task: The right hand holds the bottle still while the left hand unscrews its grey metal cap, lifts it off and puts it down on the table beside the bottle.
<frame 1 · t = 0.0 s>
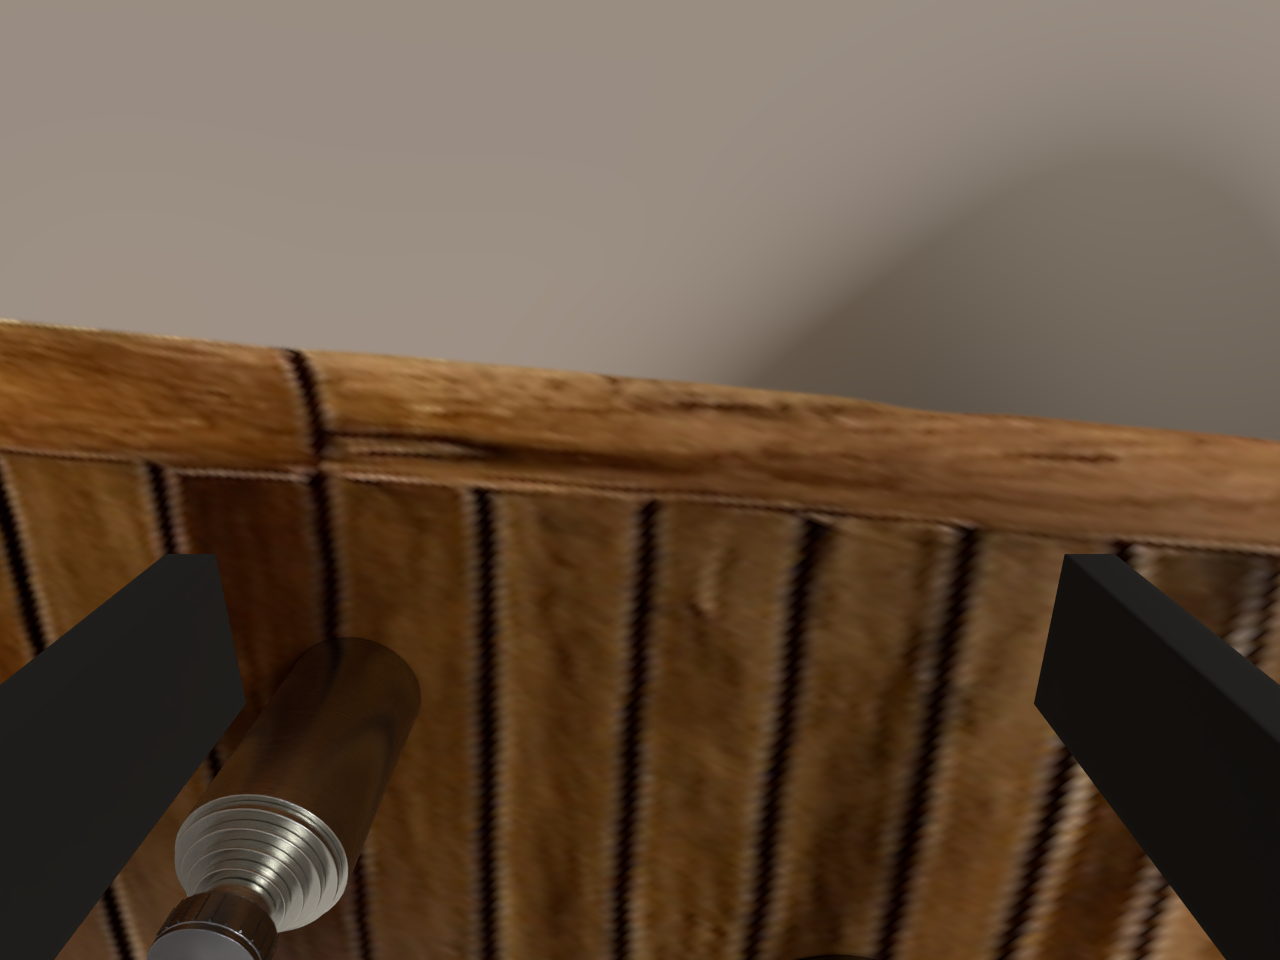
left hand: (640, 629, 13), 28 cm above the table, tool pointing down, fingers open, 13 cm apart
bottle: (355, 693, 46), on the table
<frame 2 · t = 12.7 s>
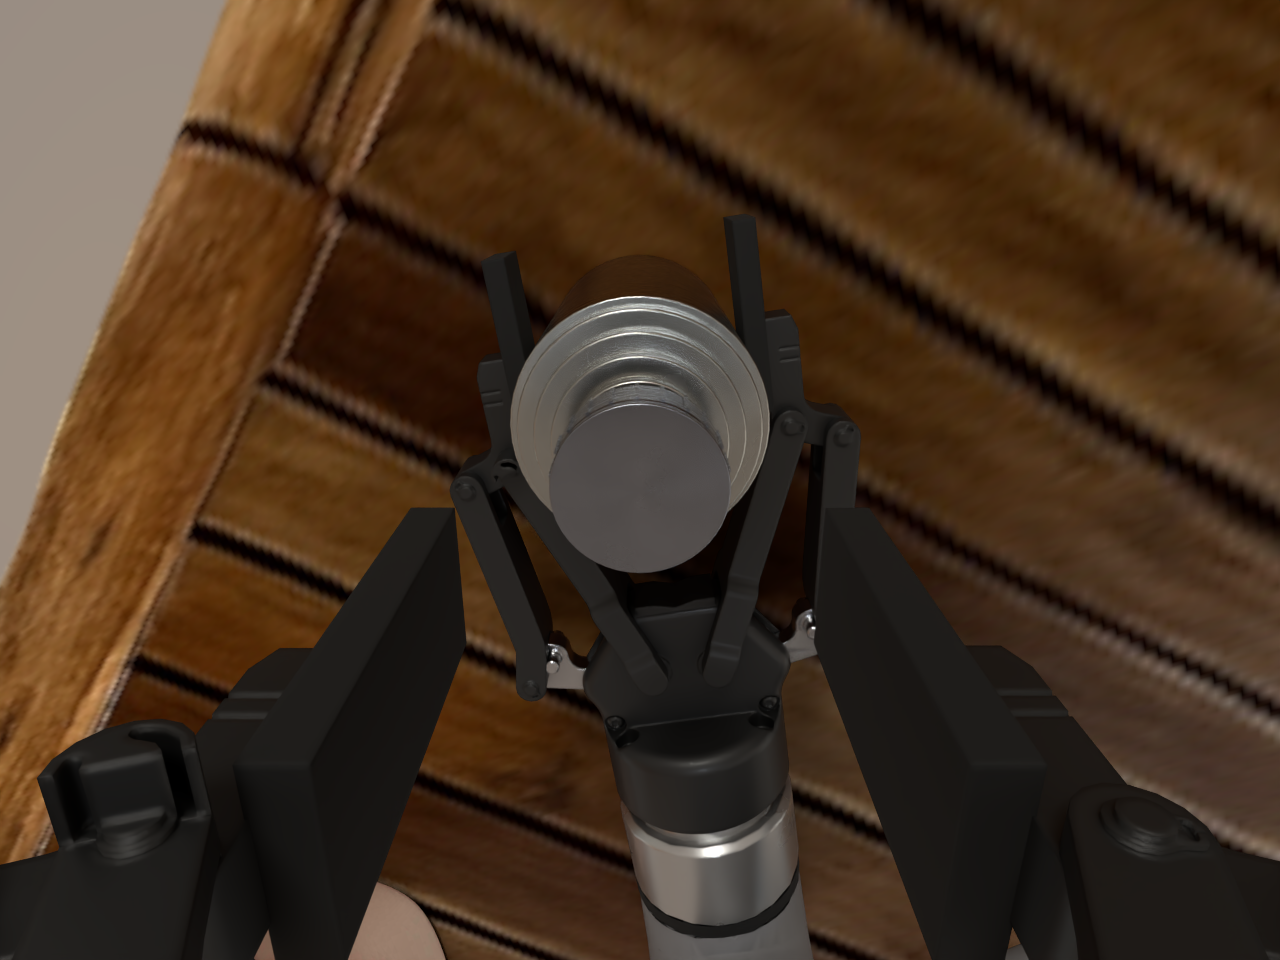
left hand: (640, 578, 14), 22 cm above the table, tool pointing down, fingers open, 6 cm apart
right hand: (617, 237, 27), fingers closed on bottle, 7 cm apart
bottle: (640, 344, 34), on the table, touching right hand
anatomical model: (351, 949, 47), on the table
cap: (640, 487, 19), point 17 cm above the table, screwed on, not yet turned
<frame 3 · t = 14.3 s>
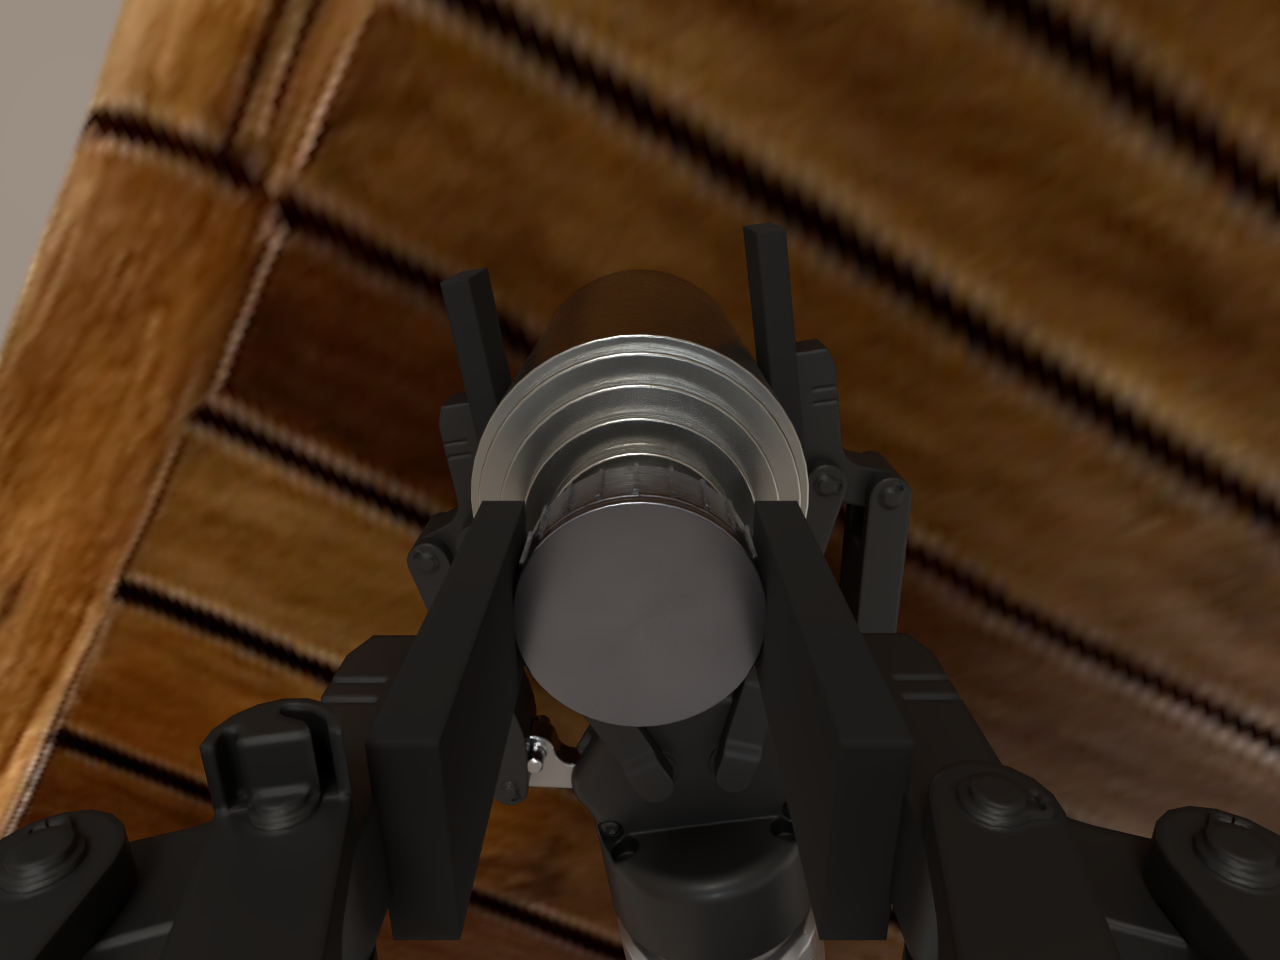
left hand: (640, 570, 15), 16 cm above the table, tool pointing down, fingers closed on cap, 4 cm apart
right hand: (612, 252, 22), fingers closed on bottle, 7 cm apart
bottle: (640, 375, 29), on the table, touching right hand
cap: (639, 611, 13), point 17 cm above the table, screwed on, not yet turned, touching left hand
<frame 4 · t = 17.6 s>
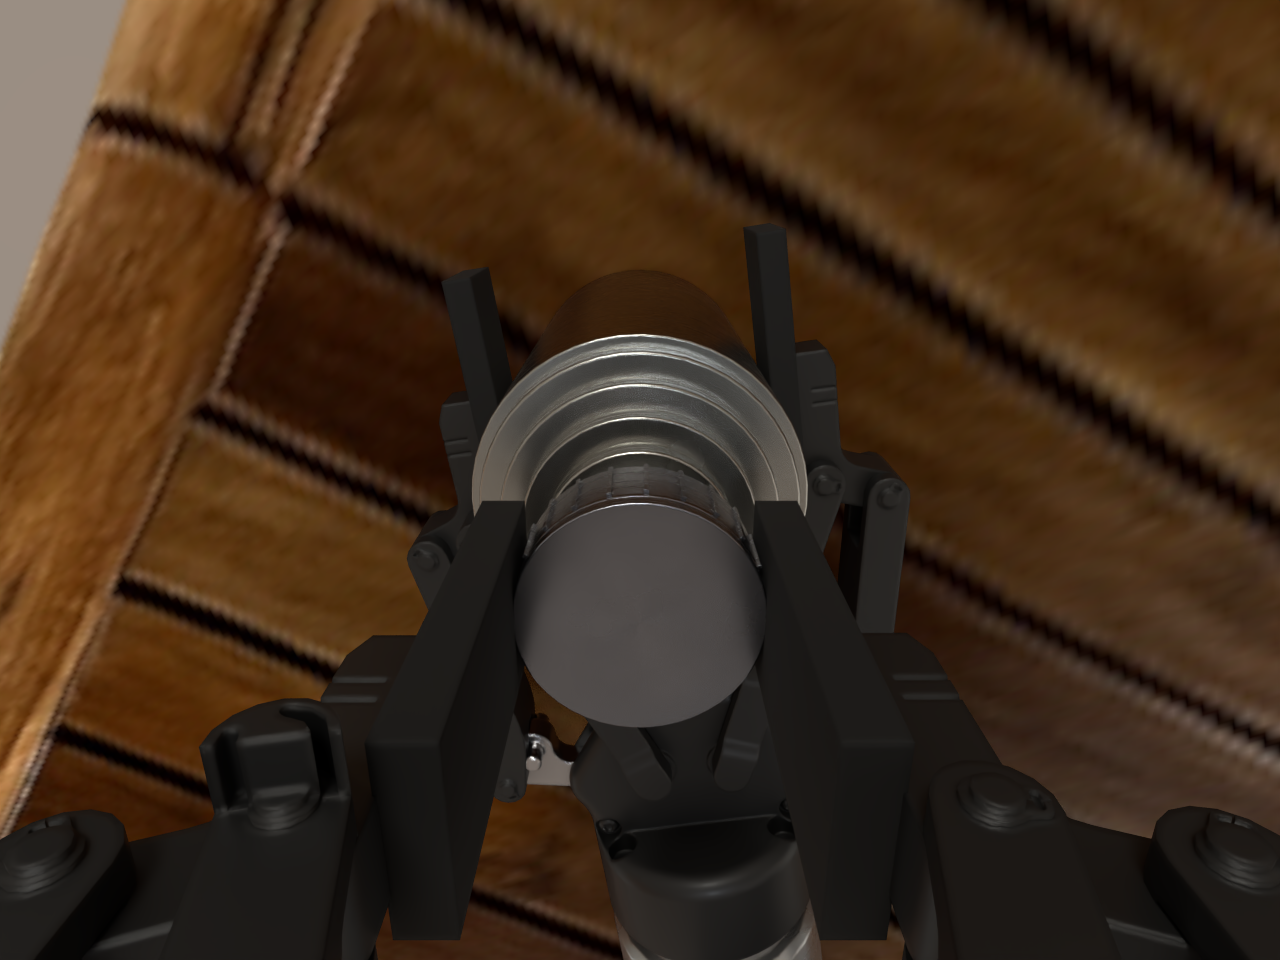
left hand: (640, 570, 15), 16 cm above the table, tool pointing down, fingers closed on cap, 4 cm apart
right hand: (613, 252, 22), fingers closed on bottle, 7 cm apart
bottle: (639, 374, 29), on the table, touching right hand
cap: (639, 612, 13), point 17 cm above the table, turned 110° so far, risen 0.1 cm, still on its thread, touching left hand
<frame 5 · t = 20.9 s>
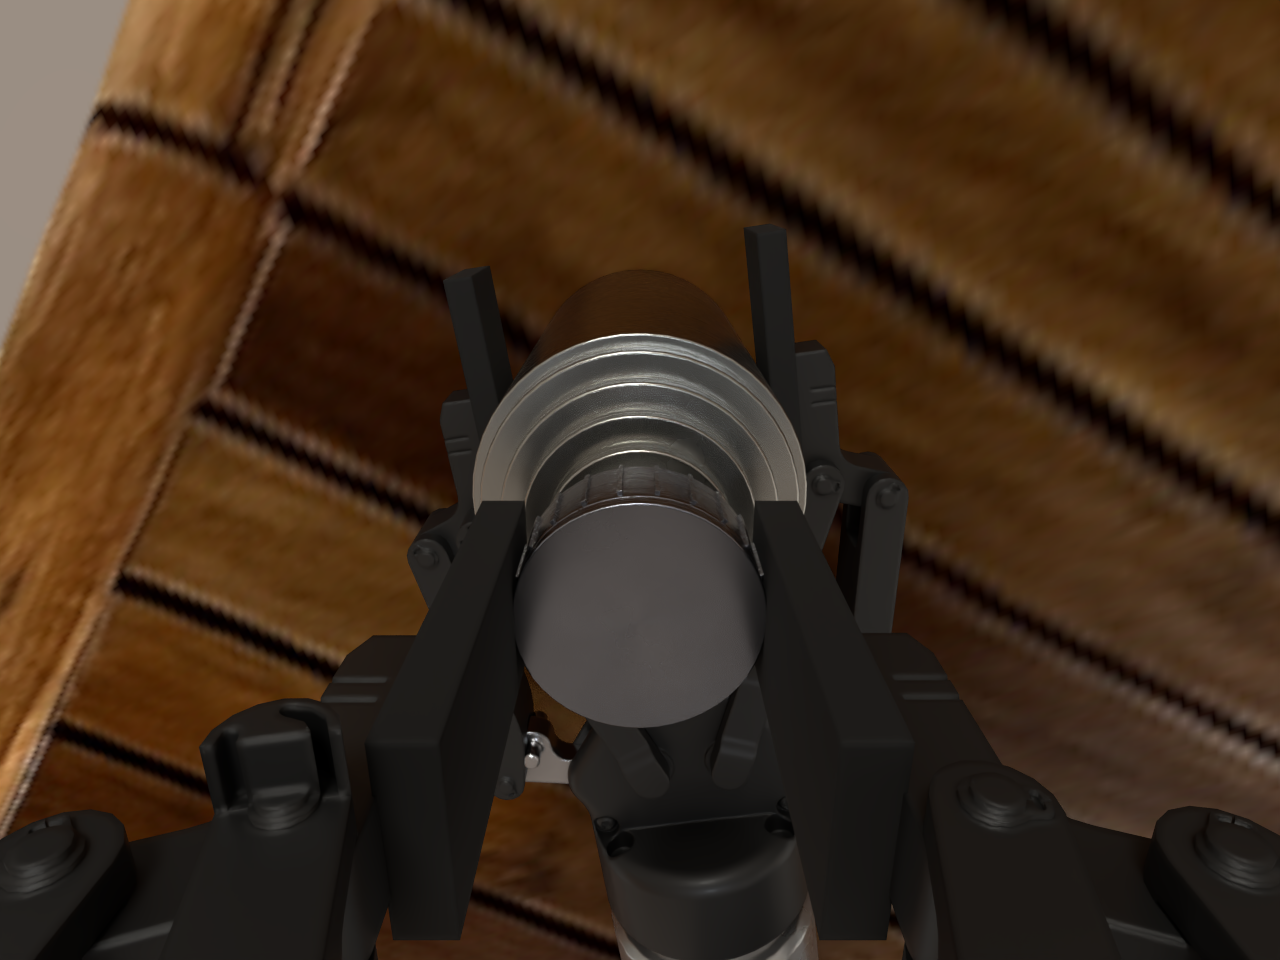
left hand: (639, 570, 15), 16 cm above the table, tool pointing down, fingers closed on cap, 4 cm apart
right hand: (614, 251, 22), fingers closed on bottle, 7 cm apart
bottle: (639, 374, 29), on the table, touching right hand
cap: (639, 612, 13), point 17 cm above the table, turned 220° so far, risen 0.2 cm, still on its thread, touching left hand
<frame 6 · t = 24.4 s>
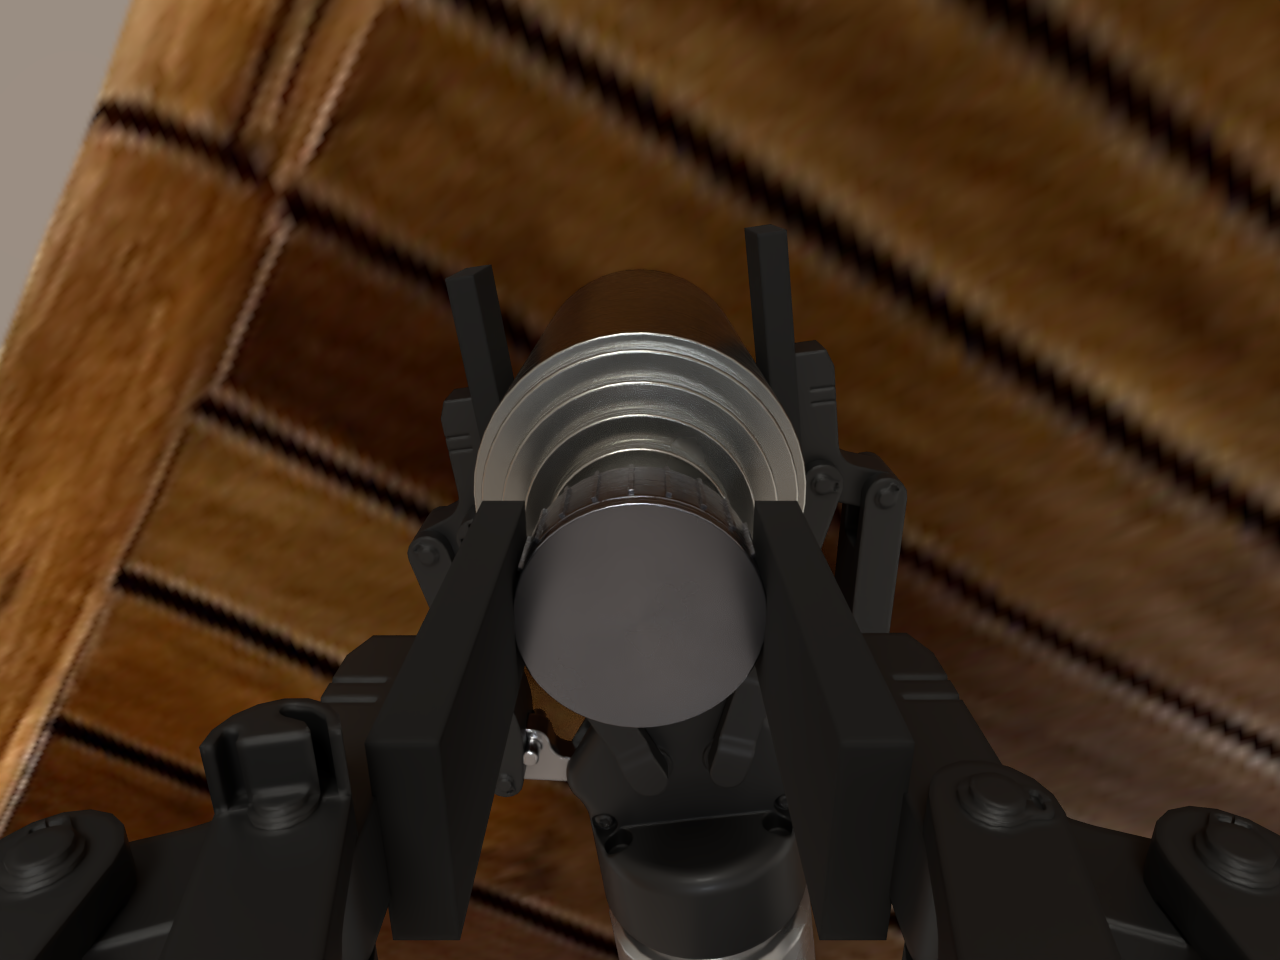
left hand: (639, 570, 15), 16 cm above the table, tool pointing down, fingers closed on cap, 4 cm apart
right hand: (615, 251, 22), fingers closed on bottle, 7 cm apart
bottle: (640, 373, 29), on the table, touching right hand
cap: (639, 612, 13), point 17 cm above the table, turned 330° so far, risen 0.3 cm, still on its thread, touching left hand
when the left hand's fingers open (1 cm above the table, at t = 31.1 s): cap drops 1 cm, point 1 cm above the table.
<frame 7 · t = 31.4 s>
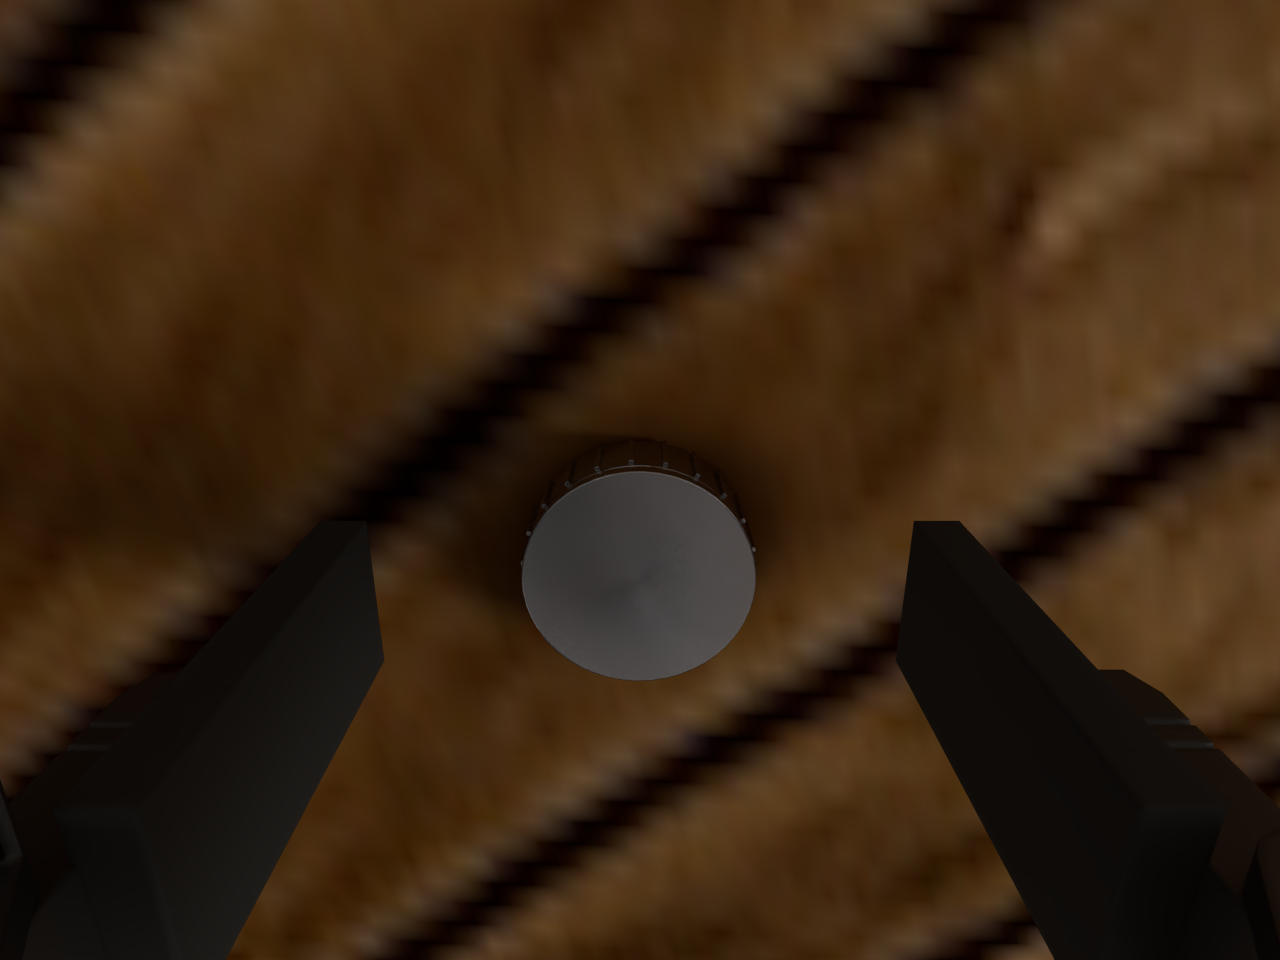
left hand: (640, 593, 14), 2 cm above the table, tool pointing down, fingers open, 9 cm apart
cap: (638, 574, 14), point 1 cm above the table, off its thread
when the right hand's fingers open (6 cm above the table, at t = 32.3 s): bottle stays where it is, on the table.
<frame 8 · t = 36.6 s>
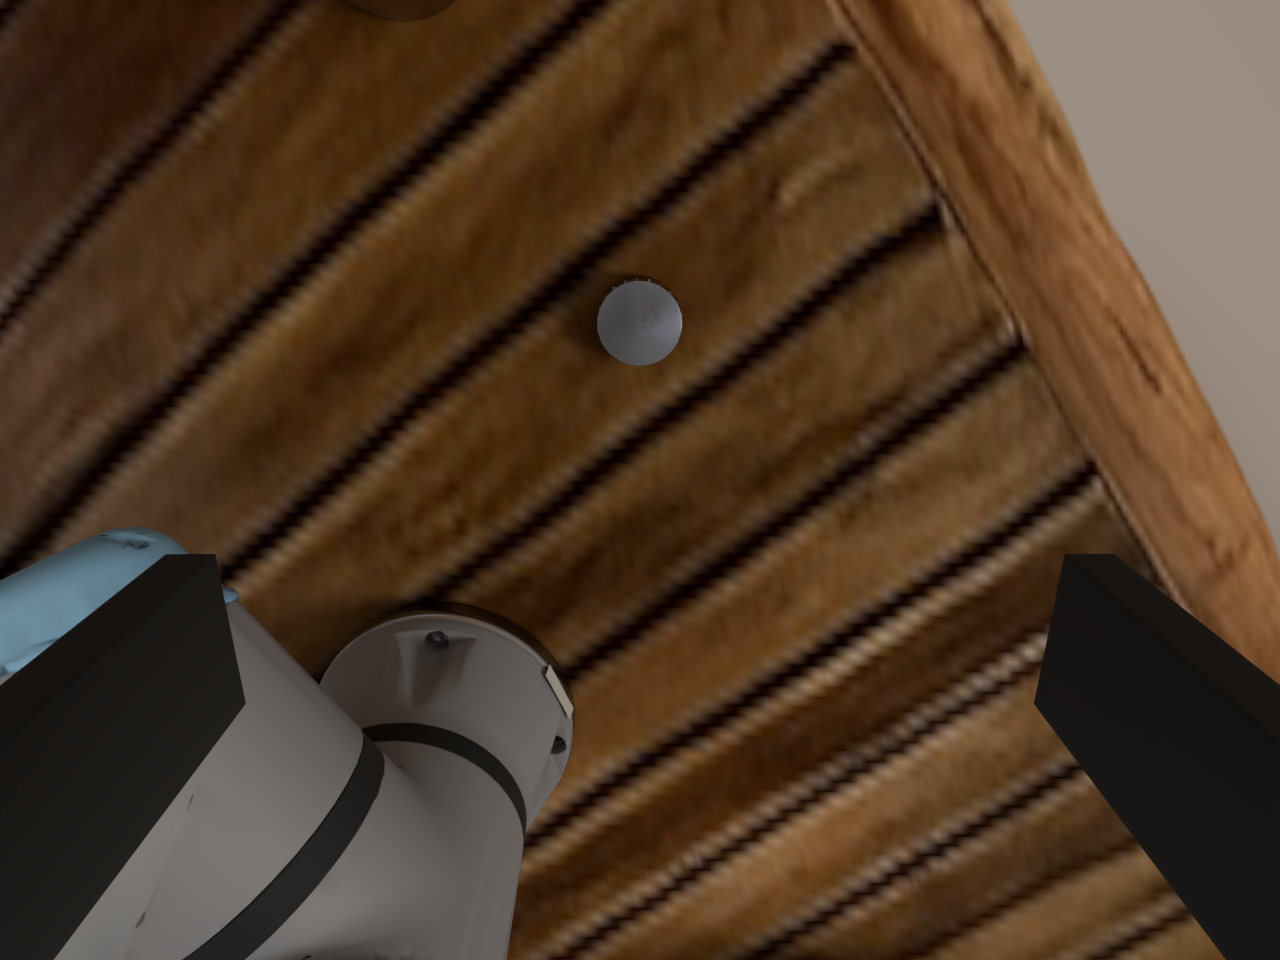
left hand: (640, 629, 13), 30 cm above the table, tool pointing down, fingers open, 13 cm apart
cap: (639, 323, 40), point 1 cm above the table, off its thread
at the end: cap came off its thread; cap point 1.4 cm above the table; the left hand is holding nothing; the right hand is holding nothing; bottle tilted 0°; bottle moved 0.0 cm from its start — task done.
